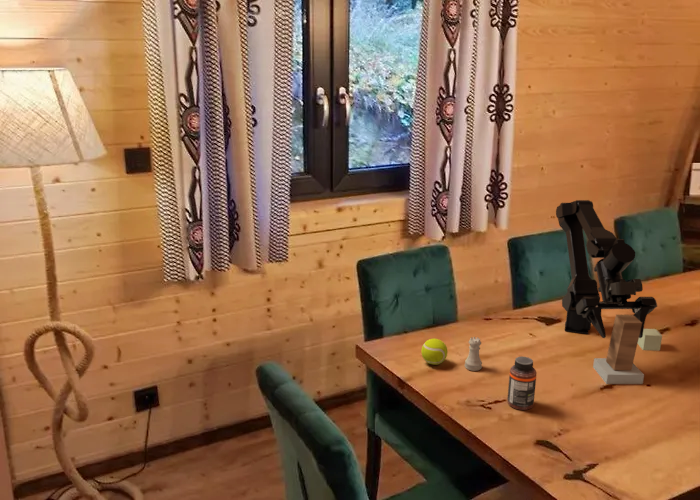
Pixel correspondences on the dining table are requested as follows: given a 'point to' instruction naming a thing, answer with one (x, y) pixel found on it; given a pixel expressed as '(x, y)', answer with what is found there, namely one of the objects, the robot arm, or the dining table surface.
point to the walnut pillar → (623, 342)
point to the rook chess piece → (473, 355)
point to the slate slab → (617, 373)
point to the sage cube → (650, 340)
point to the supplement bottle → (522, 384)
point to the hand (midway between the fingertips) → (622, 337)
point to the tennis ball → (434, 351)
